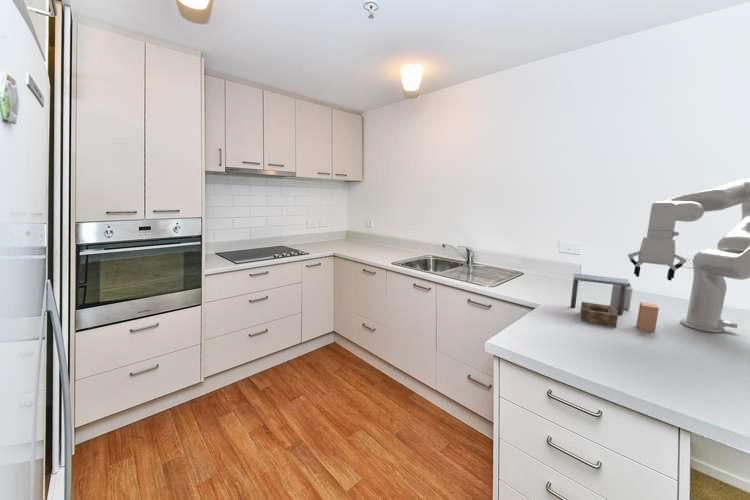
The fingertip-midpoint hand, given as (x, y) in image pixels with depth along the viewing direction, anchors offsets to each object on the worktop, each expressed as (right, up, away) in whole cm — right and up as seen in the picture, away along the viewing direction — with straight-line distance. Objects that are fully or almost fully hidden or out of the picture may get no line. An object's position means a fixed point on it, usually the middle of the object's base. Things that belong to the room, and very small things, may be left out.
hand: (652, 277), depth 126 cm
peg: (0, -21, +4) cm, 21 cm away
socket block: (-13, -19, +13) cm, 26 cm away
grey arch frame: (-8, -18, +21) cm, 28 cm away
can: (+8, -17, +28) cm, 33 cm away
